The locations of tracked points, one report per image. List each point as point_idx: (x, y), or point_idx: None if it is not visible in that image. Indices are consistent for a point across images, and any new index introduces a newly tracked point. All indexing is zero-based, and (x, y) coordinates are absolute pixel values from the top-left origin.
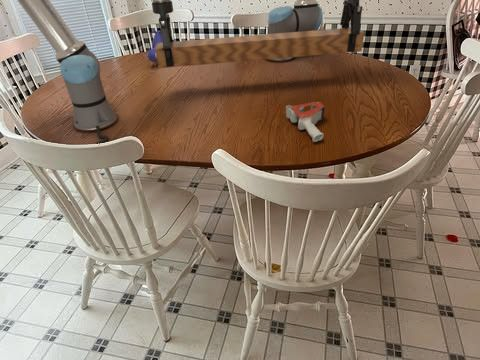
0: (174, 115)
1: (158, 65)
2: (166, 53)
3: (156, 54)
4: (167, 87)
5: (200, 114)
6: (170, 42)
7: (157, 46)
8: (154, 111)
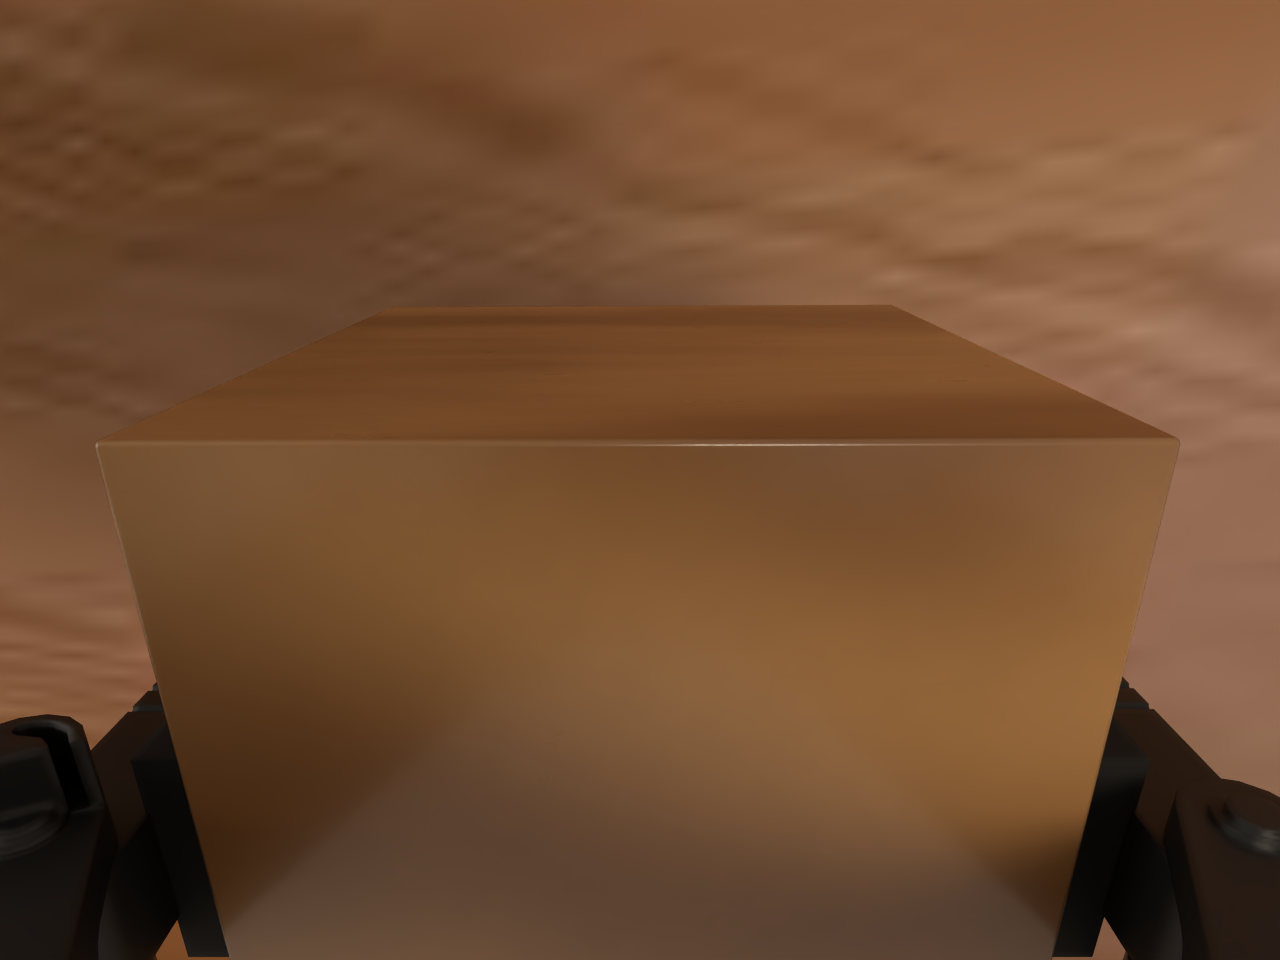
0: (42, 401)
1: (372, 320)
2: (101, 752)
3: (227, 388)
4: (910, 260)
5: (80, 646)
6: (958, 952)
7: (499, 512)
8: (140, 148)
